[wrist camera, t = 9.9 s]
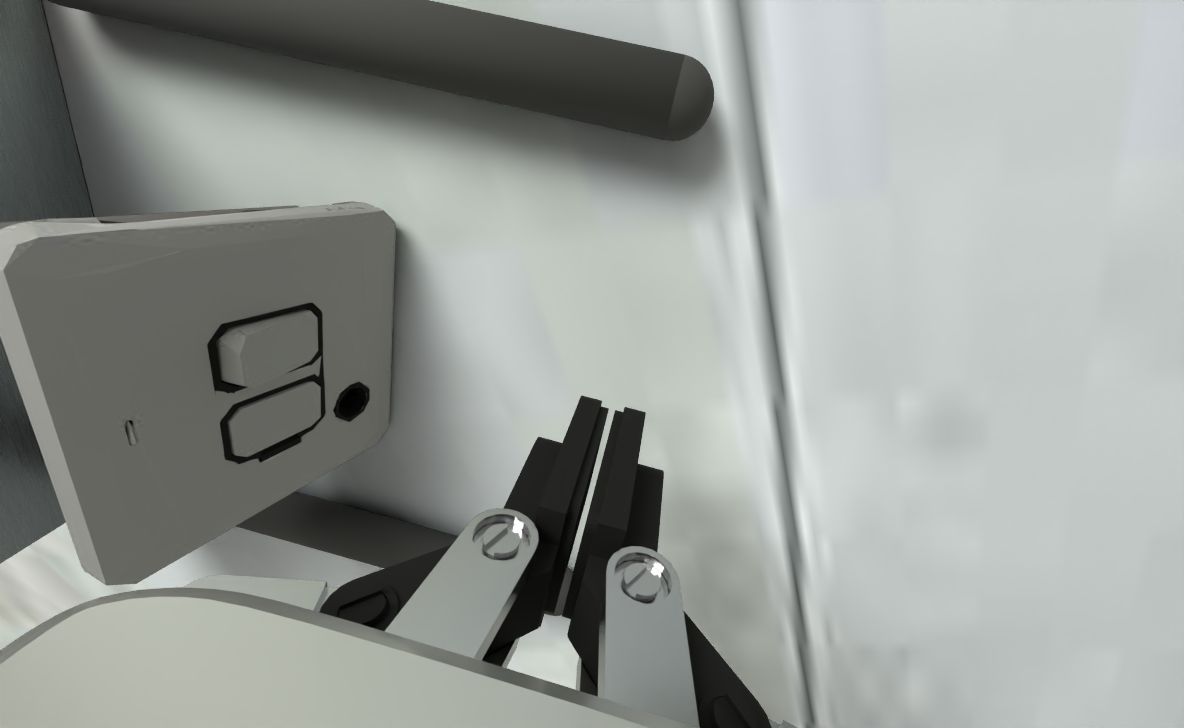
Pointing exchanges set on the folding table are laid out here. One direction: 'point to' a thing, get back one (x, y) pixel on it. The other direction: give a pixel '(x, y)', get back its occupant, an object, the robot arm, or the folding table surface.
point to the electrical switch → (195, 365)
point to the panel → (27, 193)
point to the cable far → (355, 533)
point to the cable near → (456, 55)
